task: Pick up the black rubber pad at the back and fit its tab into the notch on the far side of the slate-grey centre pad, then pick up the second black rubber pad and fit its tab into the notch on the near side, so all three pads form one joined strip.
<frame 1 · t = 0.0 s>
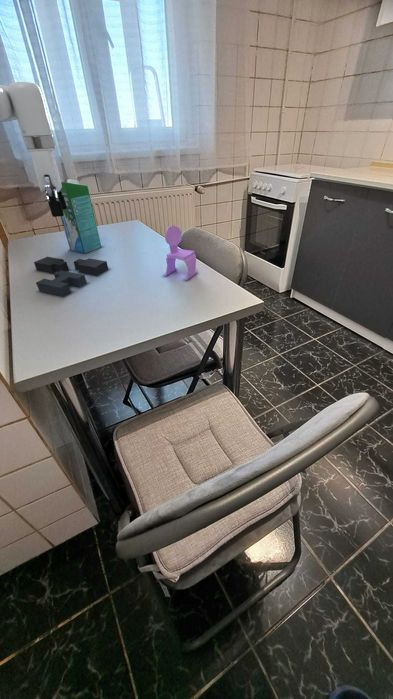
hand: (60, 212, 89), 19 cm above the table, tool pointing down, fingers open, 9 cm apart
milk carton: (86, 248, 122), on the table
pad near: (51, 268, 105), on the table
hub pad: (63, 287, 92), on the table
toy chair: (181, 275, 97), on the table
pad far: (93, 271, 102), on the table
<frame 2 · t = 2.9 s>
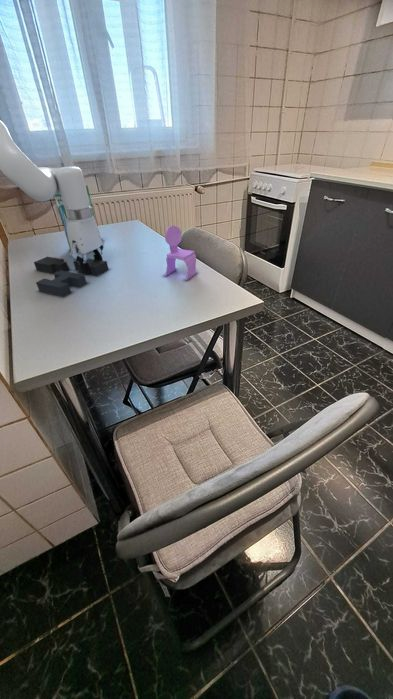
hand: (93, 269, 101), 1 cm above the table, tool pointing down, fingers closed on pad far, 6 cm apart
pad far: (93, 271, 102), on the table, touching gripper
everything else where it was.
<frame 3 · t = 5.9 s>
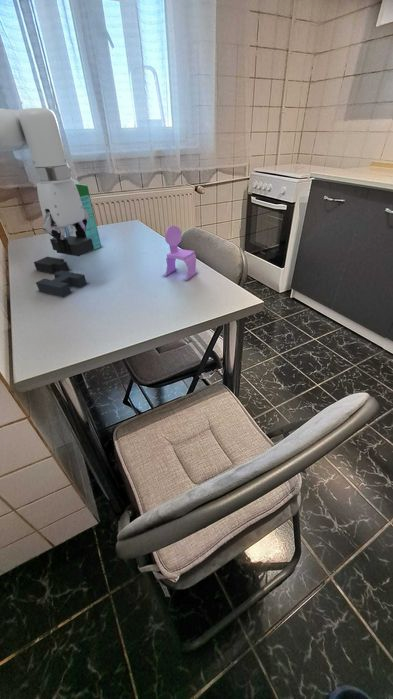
hand: (75, 249, 81), 13 cm above the table, tool pointing down, fingers closed on pad far, 6 cm apart
pad far: (75, 251, 82), point 12 cm above the table, touching gripper
everything else where it was.
when the fingers open (1 cm above the table, at t = 9.1 s): pad far stays where it is, on the table.
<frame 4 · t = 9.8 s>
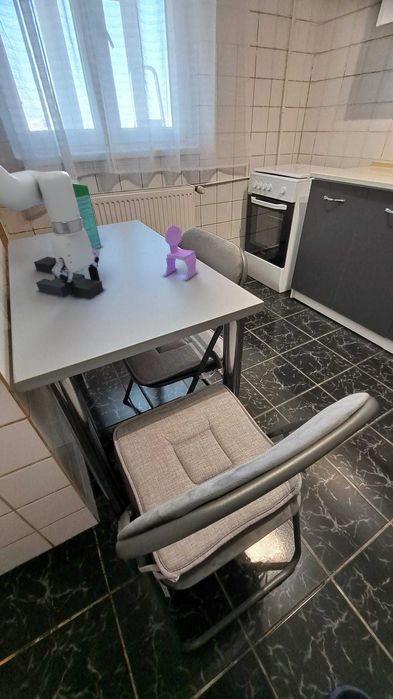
hand: (84, 286, 87), 2 cm above the table, tool pointing down, fingers open, 9 cm apart
pad far: (86, 292, 88), on the table
everything else where it was.
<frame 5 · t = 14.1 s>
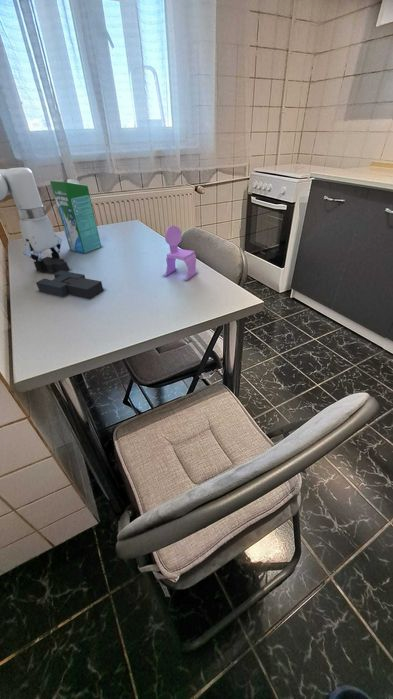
hand: (50, 267, 104), 1 cm above the table, tool pointing down, fingers closed on pad near, 6 cm apart
pad near: (51, 268, 105), on the table, touching gripper
everything else where it was.
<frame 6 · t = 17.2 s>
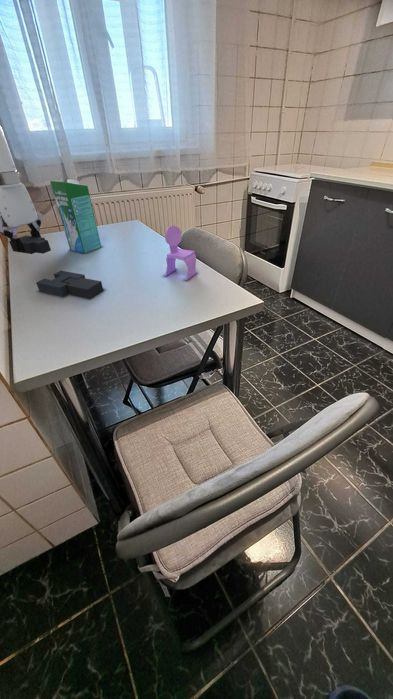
hand: (29, 247, 88), 11 cm above the table, tool pointing down, fingers closed on pad near, 6 cm apart
pad near: (30, 249, 89), point 11 cm above the table, touching gripper
everything else where it was.
when the fingers open (1 cm above the table, at t = 20.1 s): pad near stays where it is, on the table.
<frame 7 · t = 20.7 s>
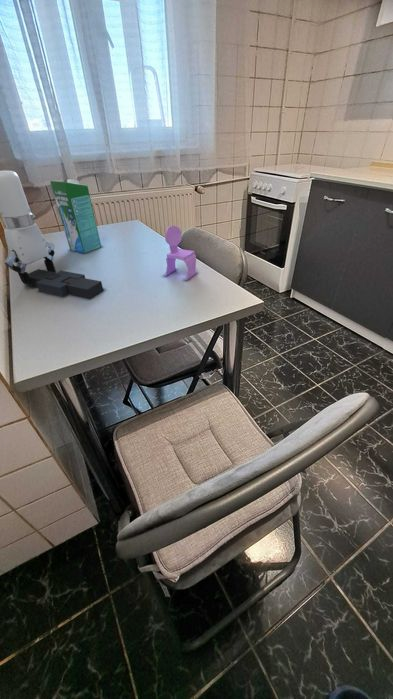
hand: (40, 278, 94), 2 cm above the table, tool pointing down, fingers open, 9 cm apart
pad near: (42, 282, 95), on the table
everything else where it was.
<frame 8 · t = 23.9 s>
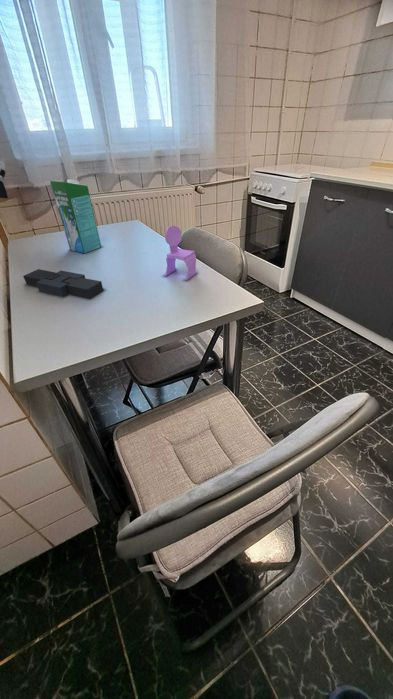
nothing on the table moved.
at the end: pad far 0.1 cm from the target spot on the table beside the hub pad, on the table; pad near 0.3 cm from the target spot on the table beside the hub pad, on the table; the gripper is holding nothing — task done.
